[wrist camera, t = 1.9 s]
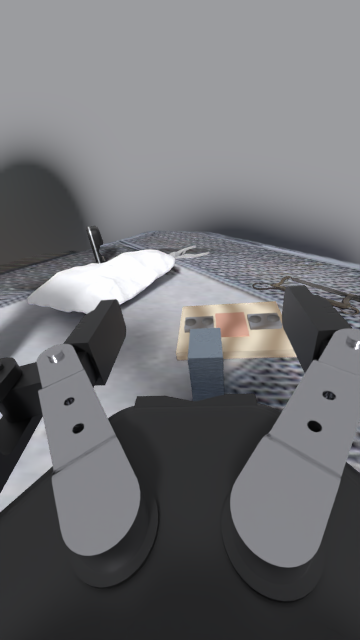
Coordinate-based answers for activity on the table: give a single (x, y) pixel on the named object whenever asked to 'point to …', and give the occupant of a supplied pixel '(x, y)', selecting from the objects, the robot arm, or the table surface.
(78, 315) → the table surface
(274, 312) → the tan flat wooden board
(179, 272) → the table surface
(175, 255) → the pliers
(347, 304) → the hacksaw
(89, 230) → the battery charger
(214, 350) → the link block
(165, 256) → the crumpled cloth
